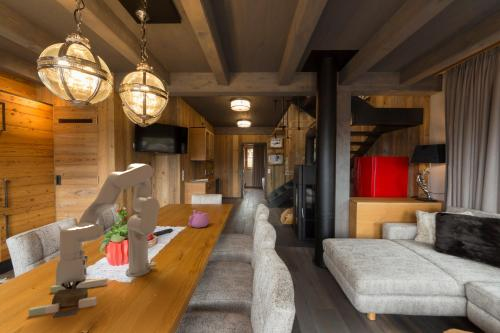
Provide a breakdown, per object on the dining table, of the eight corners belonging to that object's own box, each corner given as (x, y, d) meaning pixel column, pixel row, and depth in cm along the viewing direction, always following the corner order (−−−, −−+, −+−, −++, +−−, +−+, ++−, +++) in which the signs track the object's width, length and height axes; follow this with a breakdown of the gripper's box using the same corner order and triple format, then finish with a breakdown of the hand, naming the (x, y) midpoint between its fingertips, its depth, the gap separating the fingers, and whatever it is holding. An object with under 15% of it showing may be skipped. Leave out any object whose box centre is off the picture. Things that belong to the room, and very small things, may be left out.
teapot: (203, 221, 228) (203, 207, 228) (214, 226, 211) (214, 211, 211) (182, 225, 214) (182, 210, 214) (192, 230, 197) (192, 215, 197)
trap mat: (80, 308, 91) (80, 307, 91) (76, 314, 88) (76, 313, 88) (56, 312, 89) (56, 312, 89) (51, 319, 85) (50, 318, 85)
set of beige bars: (107, 283, 110) (107, 277, 110) (95, 305, 93) (95, 298, 93) (52, 292, 103) (52, 285, 103) (28, 317, 86) (28, 310, 86)
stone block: (57, 300, 95) (58, 289, 95) (88, 297, 98) (89, 286, 98) (50, 309, 89) (51, 296, 89) (83, 305, 93) (84, 293, 93)
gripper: (93, 249, 103) (94, 288, 104) (54, 254, 98) (54, 295, 99) (88, 256, 96) (88, 297, 97) (45, 261, 91) (45, 305, 92)
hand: (71, 296), depth 98 cm, fingers closed
